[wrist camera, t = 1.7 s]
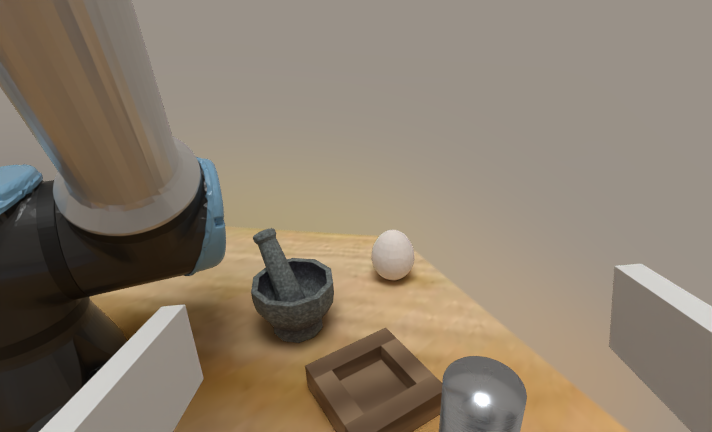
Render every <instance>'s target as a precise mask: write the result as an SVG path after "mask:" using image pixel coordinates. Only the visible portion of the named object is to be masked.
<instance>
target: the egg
mask: <svg viewBox="0 0 712 432" xmlns="http://www.w3.org/2000/svg"><path fill="white" fill-rule="evenodd" d="M413 263H414V250H413V247H412V244H411V242H410V241H409V239H408V238H407V236H406V235H405V234H403V233H402V232H400V231H398V230H388V231H386V232H384V233H382V234H381V235H380V236H379V237H378V238H377V240H376V242H375V243H374V246H373V248H372V264H373V266H374V268H375V270H376V271H377V273H378V274H379V275H380V276H382V277H383V278H385V279H389V280H398V279H401V278H402V277H404V276H406V275H407V274H408V273H409V271H410V270H411V269H412V266H413Z"/></svg>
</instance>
